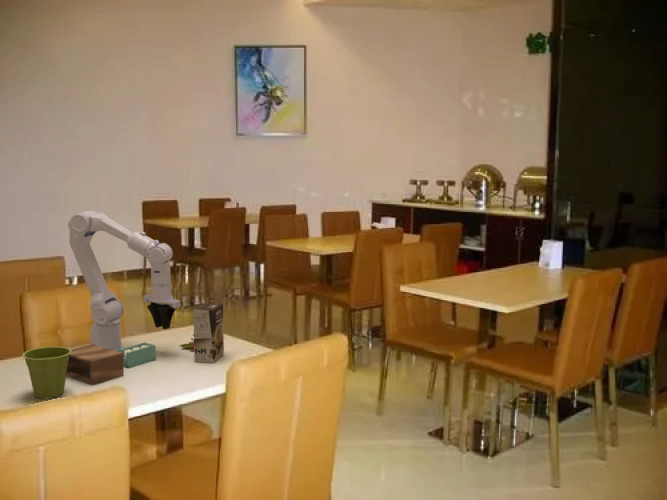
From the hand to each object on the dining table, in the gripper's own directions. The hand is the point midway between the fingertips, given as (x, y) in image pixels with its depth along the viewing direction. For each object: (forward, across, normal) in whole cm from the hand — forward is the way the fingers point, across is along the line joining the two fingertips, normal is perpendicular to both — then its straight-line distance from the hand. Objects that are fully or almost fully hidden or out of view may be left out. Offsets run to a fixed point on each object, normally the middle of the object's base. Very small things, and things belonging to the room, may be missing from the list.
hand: (162, 327), depth 226 cm
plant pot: (+9, -4, +41) cm, 42 cm away
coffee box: (+9, -14, -6) cm, 17 cm away
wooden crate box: (+8, 0, +24) cm, 26 cm away
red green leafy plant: (+9, -2, -12) cm, 15 cm away
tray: (+8, 0, +10) cm, 13 cm away
